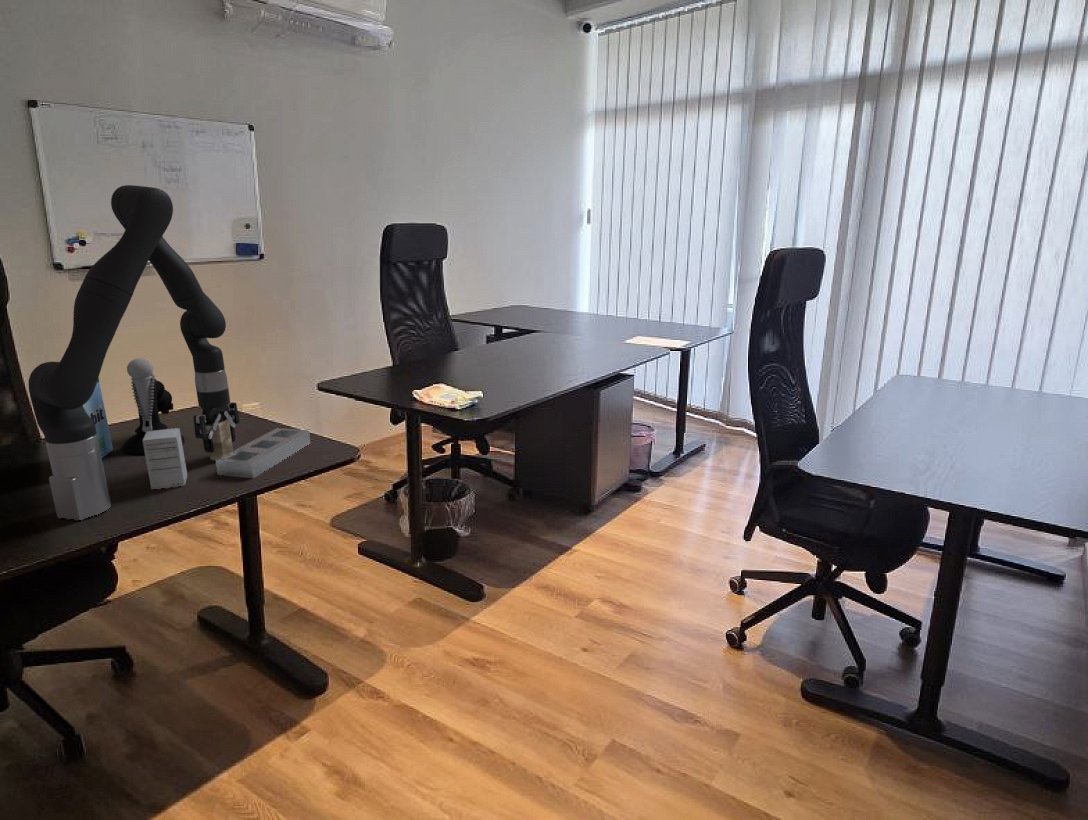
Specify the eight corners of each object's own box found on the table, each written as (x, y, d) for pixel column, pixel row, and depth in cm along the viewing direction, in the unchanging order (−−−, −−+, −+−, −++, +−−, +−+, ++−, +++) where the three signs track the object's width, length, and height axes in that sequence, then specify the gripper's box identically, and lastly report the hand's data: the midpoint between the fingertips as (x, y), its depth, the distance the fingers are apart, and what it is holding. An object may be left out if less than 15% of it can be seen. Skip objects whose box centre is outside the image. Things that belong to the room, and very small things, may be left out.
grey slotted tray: (253, 478, 172) (251, 463, 171) (217, 475, 175) (215, 459, 174) (310, 444, 197) (309, 430, 196) (278, 441, 199) (277, 428, 198)
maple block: (224, 461, 184) (218, 424, 181) (210, 459, 185) (205, 423, 182) (233, 455, 188) (228, 420, 185) (220, 454, 189) (215, 419, 186)
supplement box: (154, 479, 172) (146, 430, 168) (188, 475, 174) (180, 427, 171) (150, 490, 165) (141, 440, 162) (185, 486, 168) (177, 436, 164)
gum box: (80, 476, 174) (61, 386, 168) (57, 477, 174) (38, 387, 167) (114, 449, 193) (98, 368, 186) (94, 450, 192) (77, 369, 186)
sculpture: (115, 457, 187) (97, 365, 180) (140, 430, 209) (125, 348, 202) (177, 452, 191) (163, 362, 184) (195, 426, 213) (183, 345, 206)
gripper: (206, 395, 173) (215, 456, 178) (242, 381, 187) (250, 439, 191) (180, 393, 175) (189, 454, 180) (217, 379, 188) (226, 437, 193)
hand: (220, 446), depth 186 cm, fingers open, 8 cm apart
